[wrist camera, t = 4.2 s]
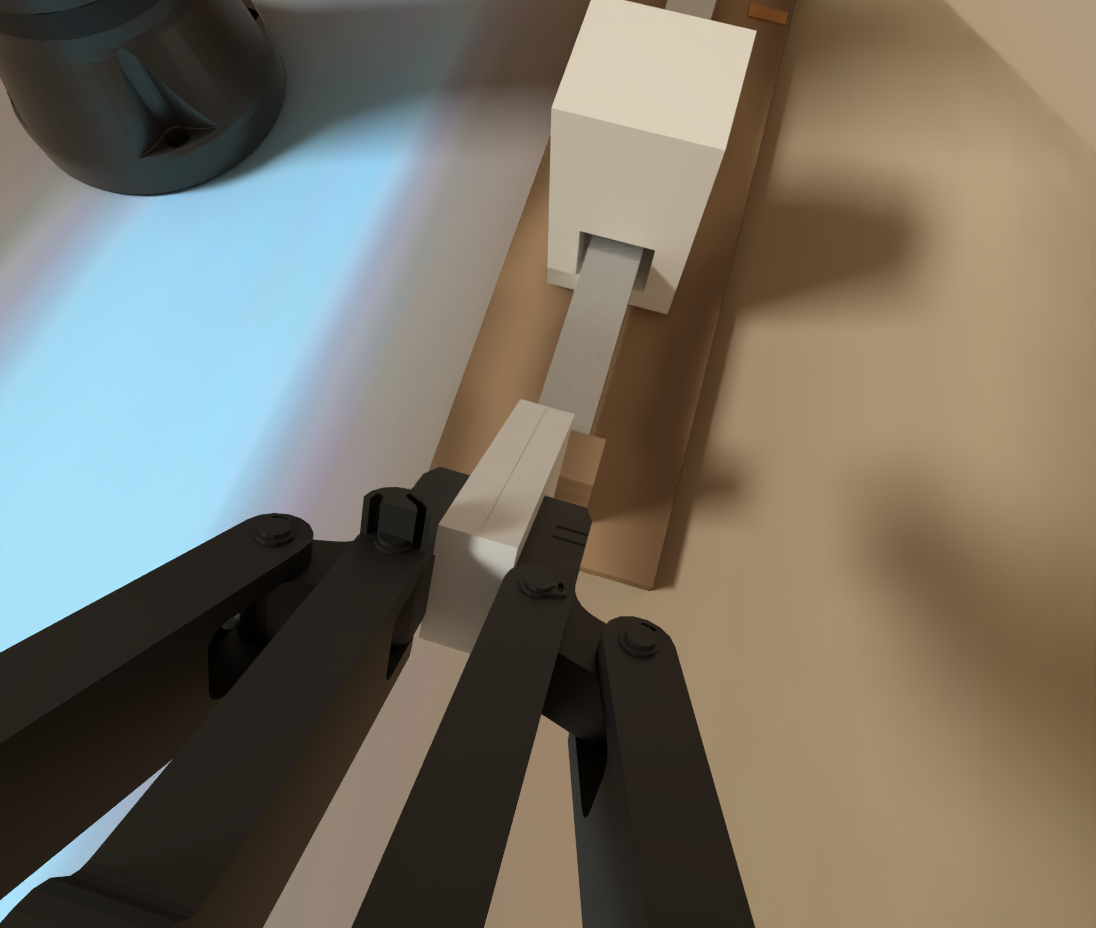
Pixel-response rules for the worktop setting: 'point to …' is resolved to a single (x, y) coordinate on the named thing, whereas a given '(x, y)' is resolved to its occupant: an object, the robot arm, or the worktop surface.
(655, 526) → the walnut board
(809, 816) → the worktop surface
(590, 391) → the steel rod
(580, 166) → the sleeve
